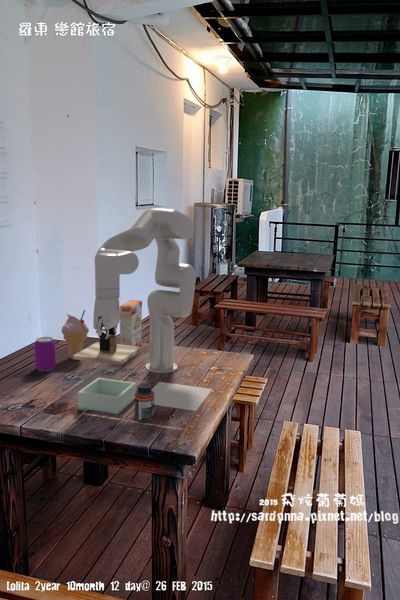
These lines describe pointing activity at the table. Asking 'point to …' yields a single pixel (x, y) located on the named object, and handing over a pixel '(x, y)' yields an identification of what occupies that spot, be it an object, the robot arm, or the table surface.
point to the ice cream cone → (75, 334)
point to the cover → (108, 352)
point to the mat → (179, 396)
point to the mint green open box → (106, 395)
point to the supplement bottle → (144, 403)
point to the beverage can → (45, 354)
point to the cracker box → (131, 323)
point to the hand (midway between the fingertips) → (107, 348)
